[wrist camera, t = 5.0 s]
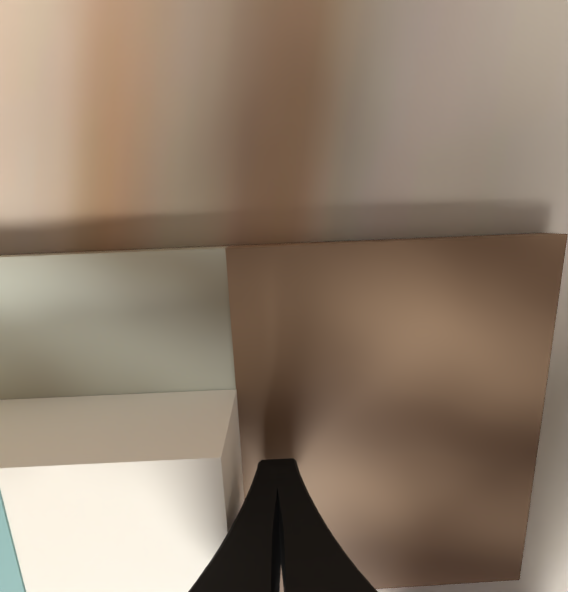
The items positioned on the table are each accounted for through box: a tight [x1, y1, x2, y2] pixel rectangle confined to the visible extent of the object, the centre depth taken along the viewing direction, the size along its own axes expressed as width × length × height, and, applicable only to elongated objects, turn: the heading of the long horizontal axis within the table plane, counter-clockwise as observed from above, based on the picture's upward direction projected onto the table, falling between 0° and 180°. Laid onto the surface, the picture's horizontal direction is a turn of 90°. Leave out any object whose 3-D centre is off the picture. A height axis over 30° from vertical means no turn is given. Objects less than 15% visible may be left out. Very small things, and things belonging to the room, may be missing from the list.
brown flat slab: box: [0, 233, 567, 592], centre depth 12 cm, size 14×22×2 cm, turn 92°
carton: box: [0, 389, 244, 592], centre depth 11 cm, size 6×9×4 cm
